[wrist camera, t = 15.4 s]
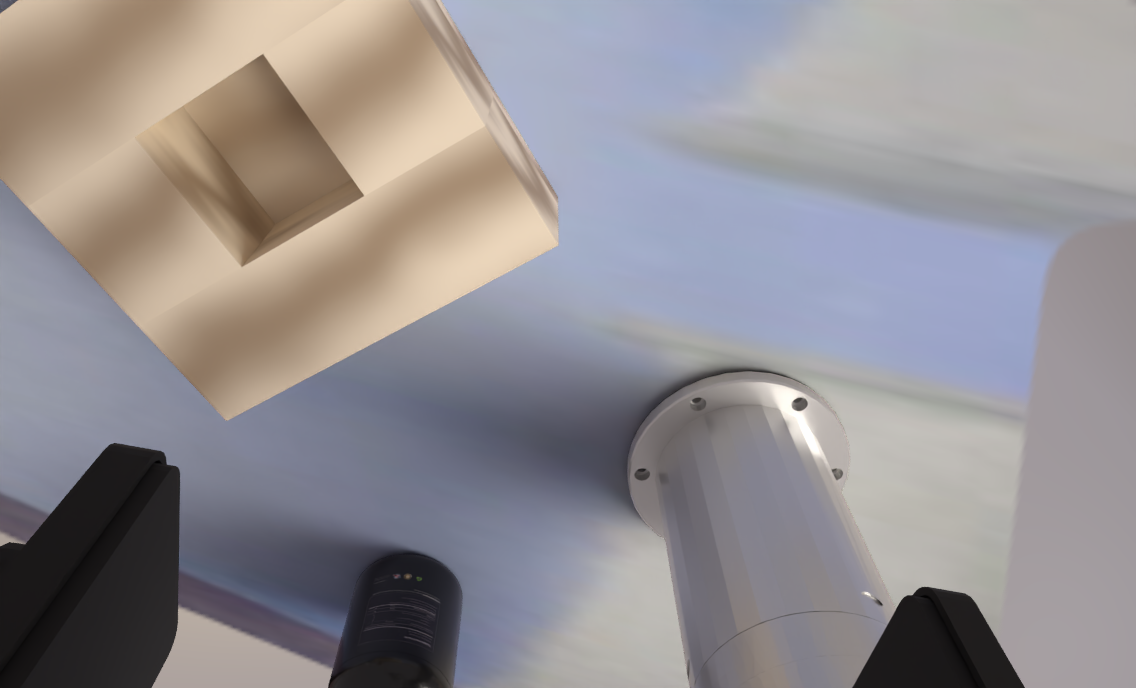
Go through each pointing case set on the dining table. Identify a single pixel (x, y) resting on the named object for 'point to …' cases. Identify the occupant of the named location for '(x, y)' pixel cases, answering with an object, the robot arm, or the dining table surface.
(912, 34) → the dining table surface
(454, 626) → the supplement bottle
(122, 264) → the housing
